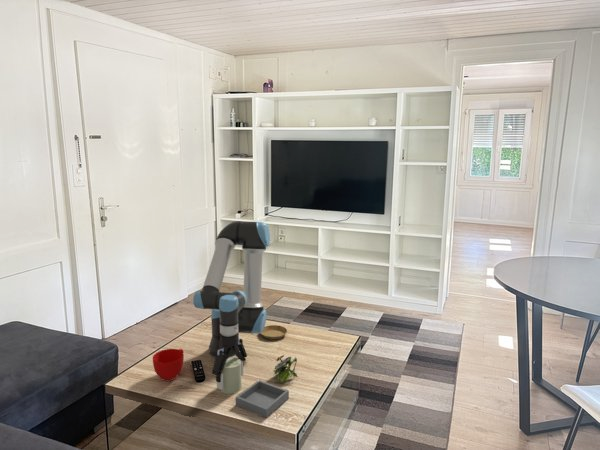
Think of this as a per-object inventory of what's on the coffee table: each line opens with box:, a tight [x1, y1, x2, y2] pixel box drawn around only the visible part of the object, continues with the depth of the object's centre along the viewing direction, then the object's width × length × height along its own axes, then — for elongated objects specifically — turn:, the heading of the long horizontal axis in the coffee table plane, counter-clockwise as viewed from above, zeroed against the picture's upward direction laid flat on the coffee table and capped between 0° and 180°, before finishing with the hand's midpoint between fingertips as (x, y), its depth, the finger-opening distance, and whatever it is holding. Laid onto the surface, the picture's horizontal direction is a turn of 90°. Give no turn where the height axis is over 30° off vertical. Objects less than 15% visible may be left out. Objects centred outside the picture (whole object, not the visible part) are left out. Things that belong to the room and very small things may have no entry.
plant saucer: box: [260, 324, 288, 340], centre depth 233 cm, size 15×15×3 cm
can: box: [219, 356, 243, 395], centre depth 181 cm, size 9×9×12 cm
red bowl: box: [152, 348, 185, 381], centre depth 191 cm, size 13×17×10 cm
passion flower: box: [273, 354, 298, 384], centre depth 190 cm, size 11×11×12 cm
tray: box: [235, 379, 290, 419], centre depth 172 cm, size 15×15×4 cm
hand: (230, 381), depth 181 cm, fingers open, 12 cm apart
